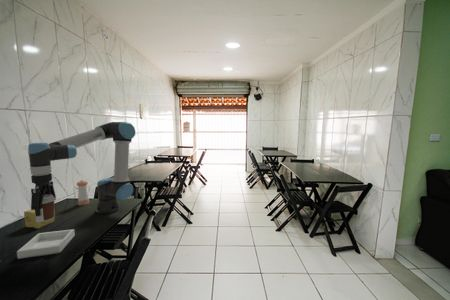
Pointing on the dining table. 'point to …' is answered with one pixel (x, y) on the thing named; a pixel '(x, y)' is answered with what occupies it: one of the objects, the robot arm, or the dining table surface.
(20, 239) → the dining table surface
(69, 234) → the white square tray
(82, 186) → the salt shaker
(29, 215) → the cheese
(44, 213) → the coffee cup
